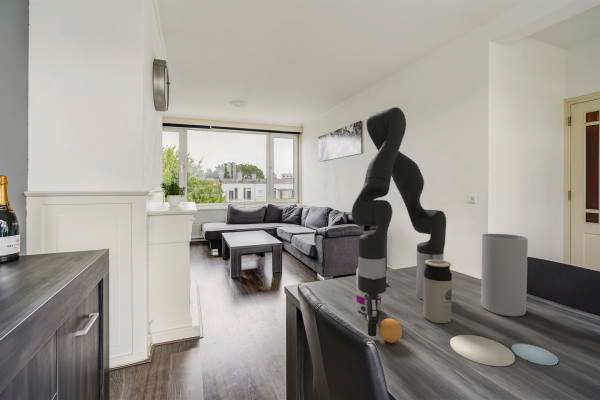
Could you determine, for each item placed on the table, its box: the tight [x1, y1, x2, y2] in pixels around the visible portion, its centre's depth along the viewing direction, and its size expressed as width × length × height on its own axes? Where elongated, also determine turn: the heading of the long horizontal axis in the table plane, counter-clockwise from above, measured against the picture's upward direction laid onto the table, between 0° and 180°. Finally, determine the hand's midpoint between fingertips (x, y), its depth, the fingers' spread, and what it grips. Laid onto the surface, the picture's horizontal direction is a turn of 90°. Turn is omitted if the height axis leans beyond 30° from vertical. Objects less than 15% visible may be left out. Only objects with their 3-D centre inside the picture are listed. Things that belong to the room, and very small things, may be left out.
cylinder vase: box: [480, 233, 529, 317], centre depth 98 cm, size 12×12×25 cm
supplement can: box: [355, 267, 382, 314], centre depth 98 cm, size 8×8×15 cm
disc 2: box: [511, 343, 559, 366], centre depth 71 cm, size 9×9×1 cm
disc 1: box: [449, 334, 516, 367], centre depth 74 cm, size 14×14×1 cm
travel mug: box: [422, 260, 453, 324], centre depth 91 cm, size 8×8×18 cm
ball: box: [378, 318, 403, 344], centre depth 78 cm, size 6×6×6 cm
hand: (372, 334), depth 79 cm, fingers closed
